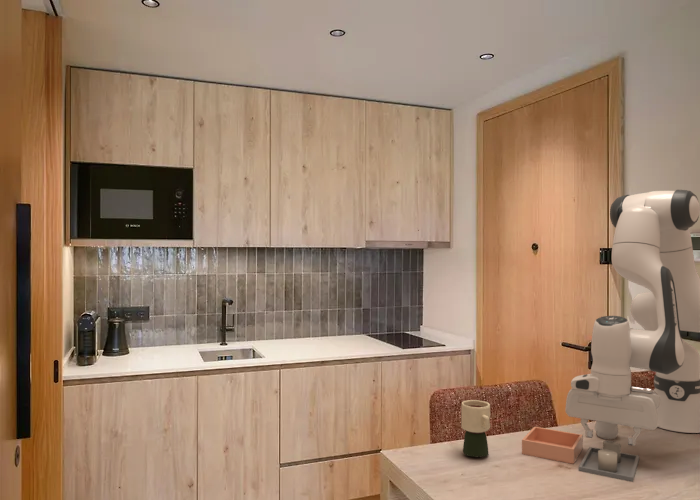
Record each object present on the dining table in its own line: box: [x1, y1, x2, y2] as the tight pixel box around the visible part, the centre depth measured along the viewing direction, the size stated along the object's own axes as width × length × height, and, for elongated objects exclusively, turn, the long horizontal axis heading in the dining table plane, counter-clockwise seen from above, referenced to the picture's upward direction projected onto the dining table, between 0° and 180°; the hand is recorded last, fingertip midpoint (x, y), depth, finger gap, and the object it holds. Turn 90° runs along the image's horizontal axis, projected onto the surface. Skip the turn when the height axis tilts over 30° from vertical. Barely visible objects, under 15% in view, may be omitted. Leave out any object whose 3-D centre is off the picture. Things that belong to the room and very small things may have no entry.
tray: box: [578, 446, 640, 483], centre depth 130 cm, size 15×11×1 cm
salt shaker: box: [594, 421, 619, 441], centre depth 149 cm, size 6×6×13 cm
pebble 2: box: [598, 450, 617, 473], centre depth 127 cm, size 4×4×4 cm
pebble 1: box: [602, 440, 622, 463], centre depth 133 cm, size 4×4×4 cm
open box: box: [521, 426, 584, 465], centre depth 139 cm, size 12×12×4 cm
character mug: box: [460, 399, 491, 458], centre depth 137 cm, size 11×7×13 cm, turn 20°
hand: (610, 440), depth 132 cm, fingers open, 8 cm apart
